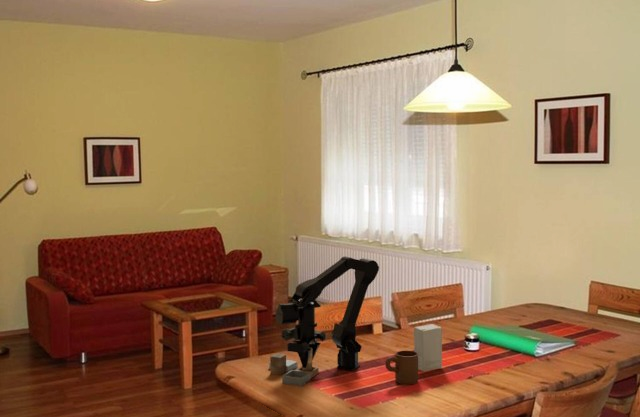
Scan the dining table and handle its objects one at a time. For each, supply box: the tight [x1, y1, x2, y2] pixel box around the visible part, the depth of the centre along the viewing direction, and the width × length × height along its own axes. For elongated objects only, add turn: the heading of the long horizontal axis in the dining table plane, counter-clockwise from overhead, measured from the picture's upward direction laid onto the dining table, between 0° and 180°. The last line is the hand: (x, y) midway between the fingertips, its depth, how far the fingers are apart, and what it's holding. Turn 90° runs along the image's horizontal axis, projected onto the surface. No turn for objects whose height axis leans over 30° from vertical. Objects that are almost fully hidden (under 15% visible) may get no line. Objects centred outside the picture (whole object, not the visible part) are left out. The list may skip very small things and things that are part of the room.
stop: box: [269, 352, 287, 376], centre depth 237 cm, size 4×4×6 cm
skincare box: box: [413, 323, 443, 372], centre depth 241 cm, size 8×6×15 cm
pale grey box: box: [268, 359, 299, 373], centre depth 243 cm, size 8×6×2 cm
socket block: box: [295, 365, 320, 379], centre depth 235 cm, size 6×6×2 cm
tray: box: [281, 369, 312, 387], centre depth 228 cm, size 7×7×2 cm
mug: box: [384, 350, 419, 386], centre depth 226 cm, size 12×8×9 cm, turn 116°
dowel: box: [301, 347, 313, 372], centre depth 235 cm, size 4×4×9 cm
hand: (306, 365), depth 235 cm, fingers closed on dowel, 4 cm apart
